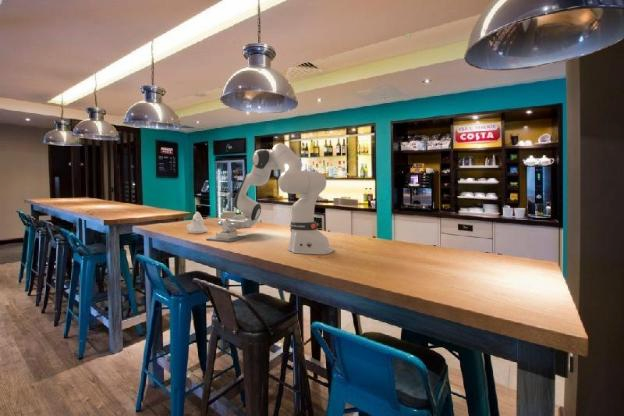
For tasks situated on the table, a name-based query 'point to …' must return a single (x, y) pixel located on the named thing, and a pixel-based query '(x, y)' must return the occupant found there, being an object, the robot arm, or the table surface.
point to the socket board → (226, 237)
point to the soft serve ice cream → (197, 224)
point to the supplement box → (229, 217)
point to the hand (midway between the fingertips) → (225, 224)
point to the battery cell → (226, 226)
